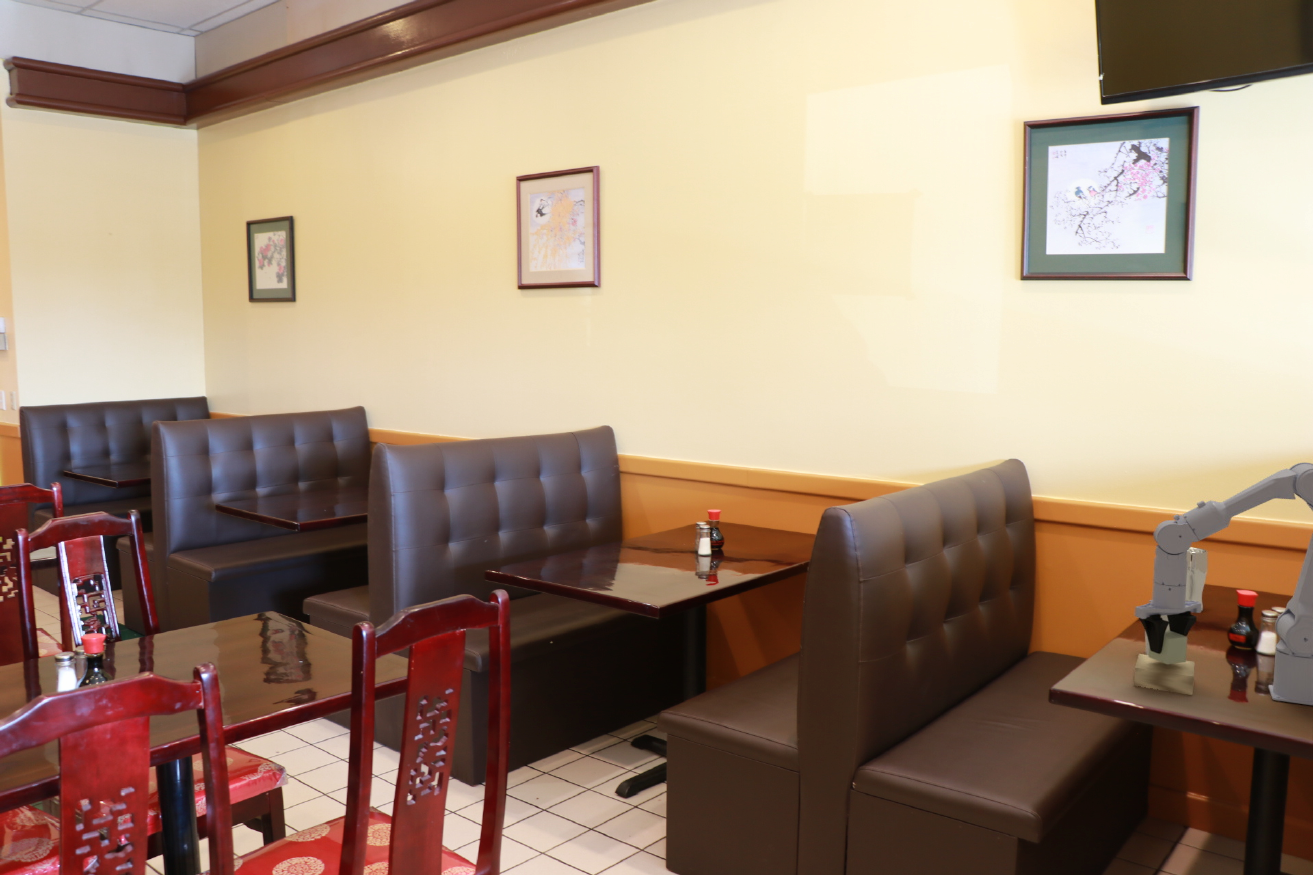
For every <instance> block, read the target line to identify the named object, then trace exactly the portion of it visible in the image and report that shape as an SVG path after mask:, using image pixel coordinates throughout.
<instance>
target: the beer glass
mask: <svg viewBox="0 0 1313 875" xmlns="http://www.w3.org/2000/svg"><path fill="white" fill-rule="evenodd" d="M1187 562H1188V563H1187V581H1186V599H1185V601H1196V602H1199V603H1201V612H1202V611H1203V610H1204V606H1203V599H1202V598H1203V590H1204V587H1205V583H1206V580H1207V579H1206V578H1207V574H1208V564H1209V563H1208V550H1206V549H1203V548H1198V547H1192V546H1190V548H1189V549H1188V550H1187Z"/></svg>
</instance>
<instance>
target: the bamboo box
mask: <svg viewBox="0 0 1313 875" xmlns="http://www.w3.org/2000/svg"><path fill="white" fill-rule="evenodd" d="M1195 665H1196V662H1195V661H1192V660H1186V662H1182V663H1174V664H1165V663H1163V662H1160V661H1157V660H1155V659H1152V658H1150V657H1149V655H1146V654H1144V653H1138V656H1137V660H1136V663H1135V667H1134V677H1133V678H1134V679H1133V680H1134V681H1133V682H1134V683H1133V686H1134V687H1138V686H1141V687H1140V688H1144V687H1146V689H1150V688H1153V689H1152V690H1157V689H1158V690H1157V691H1164V692H1169V691H1170V693H1171V692H1172V693H1176V694H1177V693H1178V694H1183V695H1190V696H1193V692H1194V684H1195V683H1194V682H1195V667H1196V666H1195Z"/></svg>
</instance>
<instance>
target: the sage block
mask: <svg viewBox="0 0 1313 875" xmlns="http://www.w3.org/2000/svg"><path fill="white" fill-rule="evenodd" d="M1187 648H1188V636H1187V637H1186V636H1183V635H1181V634H1178V633H1175V632H1172V631H1169V630H1166V631H1165V635H1164V640H1163V647H1162V651H1161V653H1160V654H1158V653H1155V652H1152V651H1151V650H1150V646H1149V657H1150V658H1152V659H1155V660H1157V661H1160V662H1163V663H1165V664H1174V663H1182V662H1186V661H1187V651H1188V650H1187Z"/></svg>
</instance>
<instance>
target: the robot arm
mask: <svg viewBox="0 0 1313 875" xmlns="http://www.w3.org/2000/svg"><path fill="white" fill-rule="evenodd" d="M1296 496H1297V497H1298V498H1300V499H1301V500H1303V501H1304V502H1305V504H1306V505H1307V506H1308V507H1309V508H1310V510H1311V511H1312V512H1313V463H1312V462H1311V463H1310V462H1298V463H1295V464H1294V465H1292V466H1291V467H1289V468H1283V469H1280V470H1279V471H1276V472H1275V473H1272V474H1271V475H1269V476H1267V477H1265V478H1263V479H1262V480H1260V481H1258V482H1256V483H1255V484H1253V485H1251V486H1249V487H1247V488H1245V489H1243V490H1241V491H1240V492H1238V493H1236V494H1235V495H1233V496H1231V497H1229V498H1227V499H1225V500H1223V501H1222V502H1221V501H1216V500H1208V501H1206V502H1205V501H1204V500H1201V501H1199V502H1197V503H1196V507H1194V508H1192V509H1190V510H1189V511H1187V512H1186V511H1185V513H1184V512H1183V513H1182V514H1180V515H1179V514H1175V515H1173V519H1172V520H1170V519H1169V520H1164V521H1162V522H1160V523H1158V525H1157V527H1156V528H1155V530H1154V532H1153V538H1154V541H1155V542H1156V545H1155V546H1156V547H1155V551H1154V552H1155V553H1154V555H1155V556H1154V564H1153V578H1152V579H1153V580H1152V581H1153V582H1152V583H1153V585H1152V598H1151V599H1149V601H1148V603H1146V604H1142V605H1138V606H1135V607H1134V608H1135V609H1134V616H1135V617H1136V618H1138V619H1139V622H1140V623H1141V624H1142V626H1143V628H1144V632H1145V631H1146V634H1147V637H1148V641H1149V646H1150V650H1151V651H1152V652H1155V653H1158V654H1160V653H1161V651H1162V647H1163V640H1164V635H1165V631H1166V629H1167V626H1168V624H1169V628H1170V631H1172V632H1175V633H1178V634H1181V635H1183V636H1186V637H1187V638H1188V634H1189V633H1190V630H1191V629H1192V627H1193V626H1194V625H1195V624H1196V622H1197V618H1198V617H1197V615H1195V614H1192V613H1196V614H1198V613H1199V614H1200V613H1201V612H1202V611H1201V603H1199V602H1196V601H1185V599H1186V581H1187V563H1188V562H1187V550H1188V549H1189V548H1190V547H1192V543H1198V542H1199V541H1202V540H1204V539H1206V538H1208V537H1210V536H1212V535H1214V534H1216V533H1219V532H1220V531H1222V530H1224V529H1226V528H1228V527H1229V525H1230V522H1231V520H1232V518H1233V517H1235V516H1238V515H1240V514H1242V513H1244V512H1246V511H1249V510H1251V509H1254V508H1256V507H1258V506H1260V505H1263V504H1264V503H1267V502H1270V501H1271V500H1274V499H1281V500H1296ZM1303 559H1304V560H1303V563H1302V566H1301V570H1300V573H1299V576H1298V578H1297V582H1296V585H1295V590H1294V592H1293V596H1292V597H1291V599H1289V601H1288V602H1287V603H1286V607H1285V609H1284V611H1282V613H1280V615H1279V616H1278V617H1277V618H1276V621H1275V622H1274V623H1275V624H1274V630H1275V631H1276V634H1277V635H1278V636H1279V641H1278V642H1277V643H1276V645H1275V655H1274V656H1275V657H1274V668H1273V670H1274V672H1273V682H1272V683H1273V684H1268V690H1269V693H1270V695H1271V698H1272V700H1273V701H1278V702H1287V703H1293V704H1300V705H1301V704H1302V705H1308V706H1313V532H1312V533H1311V537H1310V539H1309V543H1308V546H1307V550H1306V553H1305V557H1304V558H1303ZM1163 615H1167V618H1168V621H1165V620H1162V618H1161V616H1163Z"/></svg>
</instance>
